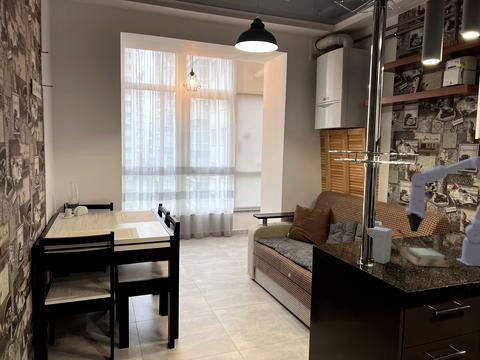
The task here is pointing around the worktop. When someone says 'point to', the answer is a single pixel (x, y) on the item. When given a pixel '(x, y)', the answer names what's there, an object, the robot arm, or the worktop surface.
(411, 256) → the wooden box
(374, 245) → the small box
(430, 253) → the cover plate
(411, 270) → the worktop surface
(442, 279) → the worktop surface
